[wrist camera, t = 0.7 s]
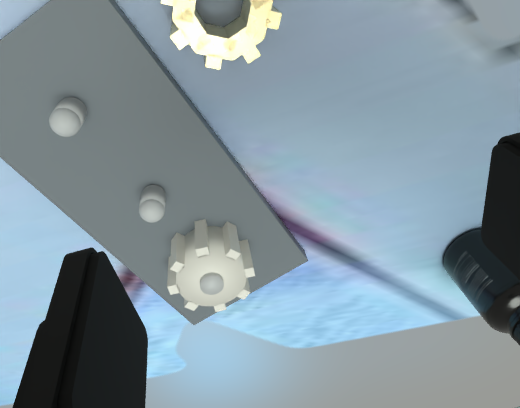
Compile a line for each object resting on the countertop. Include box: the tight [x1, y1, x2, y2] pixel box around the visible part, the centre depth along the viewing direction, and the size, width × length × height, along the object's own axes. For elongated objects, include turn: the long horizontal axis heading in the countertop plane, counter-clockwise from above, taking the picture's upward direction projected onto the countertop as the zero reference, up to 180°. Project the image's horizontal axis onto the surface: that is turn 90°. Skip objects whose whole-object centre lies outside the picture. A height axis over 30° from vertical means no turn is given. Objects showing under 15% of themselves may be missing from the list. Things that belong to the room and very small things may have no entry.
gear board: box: [0, 0, 308, 325], centre depth 34 cm, size 14×30×6 cm, turn 32°
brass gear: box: [161, 0, 282, 70], centre depth 28 cm, size 8×8×4 cm
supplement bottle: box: [444, 229, 520, 345], centre depth 42 cm, size 7×7×12 cm
